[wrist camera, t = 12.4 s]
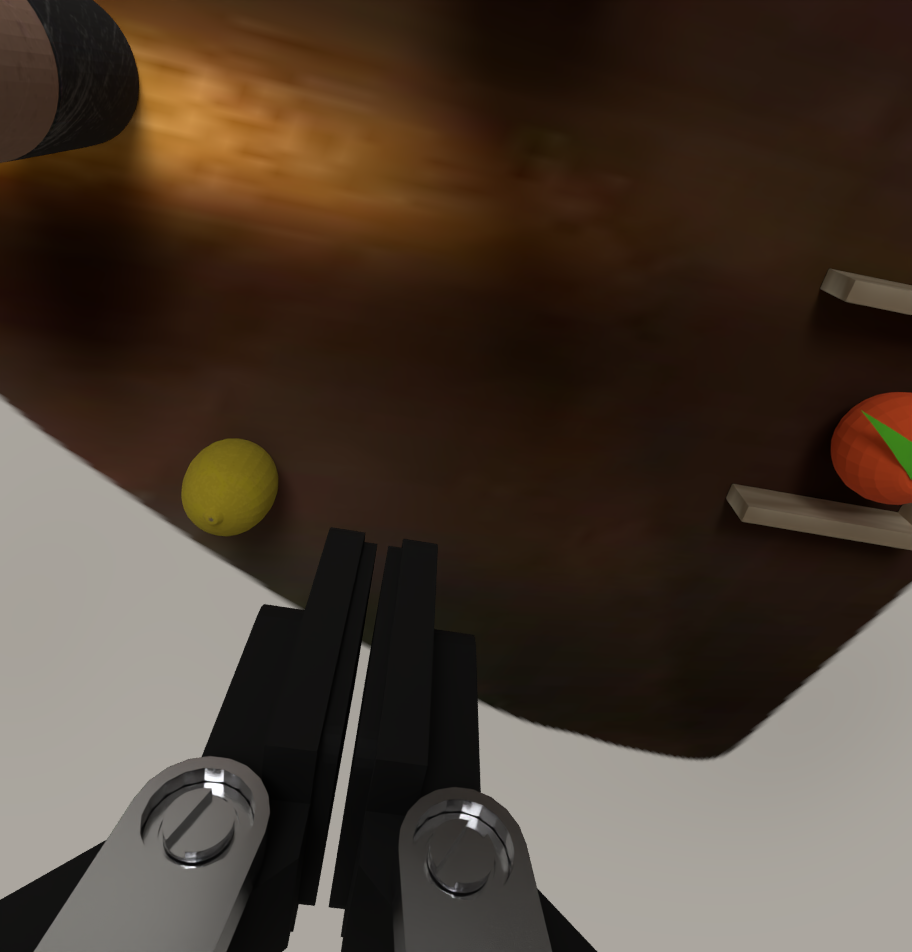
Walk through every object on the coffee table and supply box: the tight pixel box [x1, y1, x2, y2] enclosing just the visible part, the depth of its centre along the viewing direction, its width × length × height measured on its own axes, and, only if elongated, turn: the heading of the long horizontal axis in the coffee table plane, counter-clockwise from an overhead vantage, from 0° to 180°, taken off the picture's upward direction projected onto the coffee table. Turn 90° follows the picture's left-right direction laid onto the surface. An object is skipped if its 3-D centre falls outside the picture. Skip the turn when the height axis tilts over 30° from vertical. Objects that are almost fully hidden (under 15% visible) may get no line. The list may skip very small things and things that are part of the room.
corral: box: [726, 269, 912, 550], centre depth 42 cm, size 16×14×3 cm
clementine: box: [831, 392, 912, 505], centre depth 41 cm, size 8×7×7 cm
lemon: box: [181, 438, 278, 536], centre depth 42 cm, size 6×6×8 cm
